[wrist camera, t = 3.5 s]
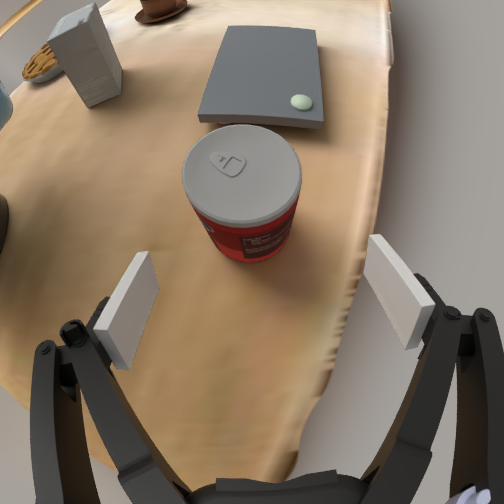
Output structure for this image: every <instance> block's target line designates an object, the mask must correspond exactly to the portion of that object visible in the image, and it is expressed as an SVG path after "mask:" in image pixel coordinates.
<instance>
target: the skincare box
mask: <svg viewBox="0 0 504 504" xmlns="http://www.w3.org/2000/svg"><path fill="white" fill-rule="evenodd" d="M47 43H48V45H49V47H50V49H51V50H52V52H53V53H54V55H55V57H56V58H57V60H58V62H59V64H60V65H61V67H62V68H63V70H64V72H65V73H66V75H67V77H68V78H69V80H70V81H71V83H72V85H73V86H74V88H75V89H76V91H77V93H78V94H79V96H80V97H81V99H82V100H83V102H84V104H85V105H86V106H87V108H90V107H92V106H94V105H96V104H98V103H101V102H103V101H105V100H108V99H110V98H113V97H115V96H117V95H120V94H121V80H122V67H121V65H120V62H119V60H118V58H117V55H116V53H115V50H114V48H113V45H112V43H111V40H110V38H109V35H108V33H107V30H106V28H105V25H104V23H103V20H102V18H101V15H100V12H99V10H98V8H97V5H96V3H95V2H94V3H92V4H90V5H87V6H85V7H83V8H81V9H79V10H76V11H74V12H72V13H70V14H68V15H66V16H64V17H63V18H61V19H60V20H59V21H58V23H57V24H56V26H55V28H54V30H53V31H52V33H51V35H50V37H49V38H48V40H47Z"/></svg>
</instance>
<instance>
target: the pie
mask: <svg viewBox="0 0 504 504" xmlns="http://www.w3.org/2000/svg"><path fill="white" fill-rule="evenodd" d="M63 71H64V70H63V68H62V67H61V65H60V64H59V62H58V60H57V58H56V57H55V55H54V53H53V52H52V50H51V49H50V47H49V45H48V43H47V44H45V45H44V46H43V47H42V48H41V49H40V51H39V52H38V53H36V54H35V55H33V57H32V58H31V60H30V62H29V63H28V64H26V65H25V67H24V71H23V72H22V75H23V78H24V81H31V82H34V83H43V82H46V81H49V80H51V79H52V78H54V77H55V76H57V75H58V74H60V73H62V72H63Z"/></svg>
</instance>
